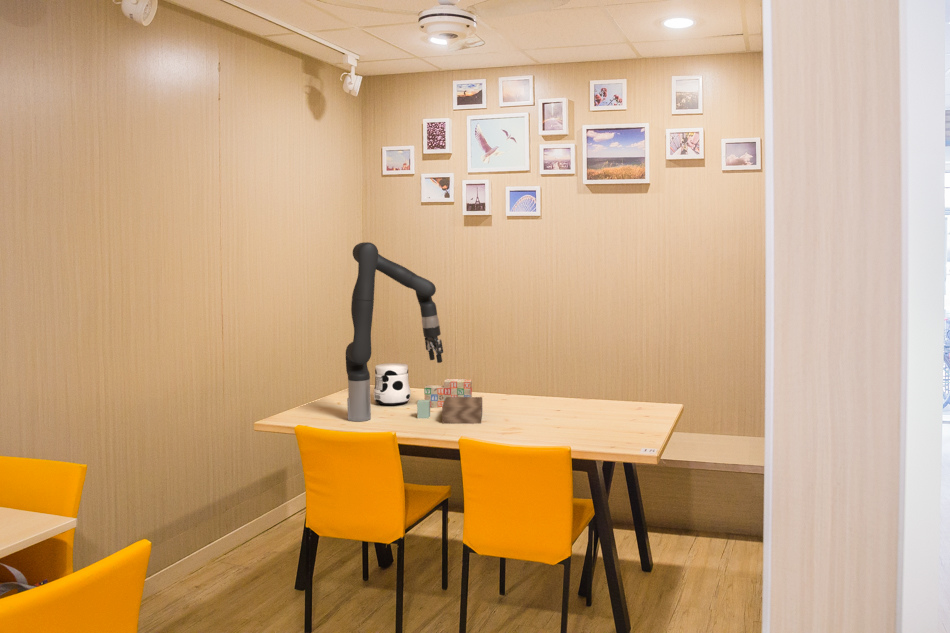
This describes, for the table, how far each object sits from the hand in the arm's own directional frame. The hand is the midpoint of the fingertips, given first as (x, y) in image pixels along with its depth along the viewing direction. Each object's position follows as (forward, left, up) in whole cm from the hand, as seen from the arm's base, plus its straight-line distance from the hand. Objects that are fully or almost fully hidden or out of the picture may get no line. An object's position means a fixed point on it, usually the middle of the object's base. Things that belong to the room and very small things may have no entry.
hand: (436, 361), depth 336 cm
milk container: (-22, +16, -23) cm, 36 cm away
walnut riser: (+13, -15, -22) cm, 30 cm away
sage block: (-4, -13, -22) cm, 26 cm away
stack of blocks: (+4, +9, -23) cm, 25 cm away
